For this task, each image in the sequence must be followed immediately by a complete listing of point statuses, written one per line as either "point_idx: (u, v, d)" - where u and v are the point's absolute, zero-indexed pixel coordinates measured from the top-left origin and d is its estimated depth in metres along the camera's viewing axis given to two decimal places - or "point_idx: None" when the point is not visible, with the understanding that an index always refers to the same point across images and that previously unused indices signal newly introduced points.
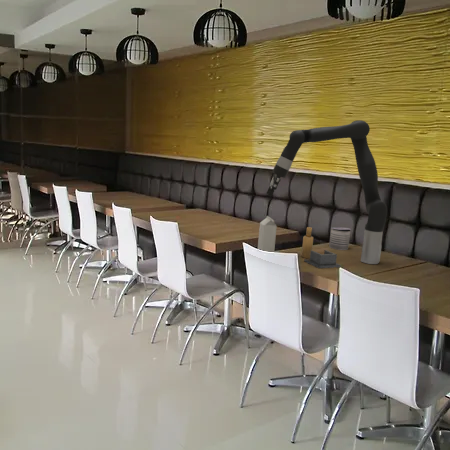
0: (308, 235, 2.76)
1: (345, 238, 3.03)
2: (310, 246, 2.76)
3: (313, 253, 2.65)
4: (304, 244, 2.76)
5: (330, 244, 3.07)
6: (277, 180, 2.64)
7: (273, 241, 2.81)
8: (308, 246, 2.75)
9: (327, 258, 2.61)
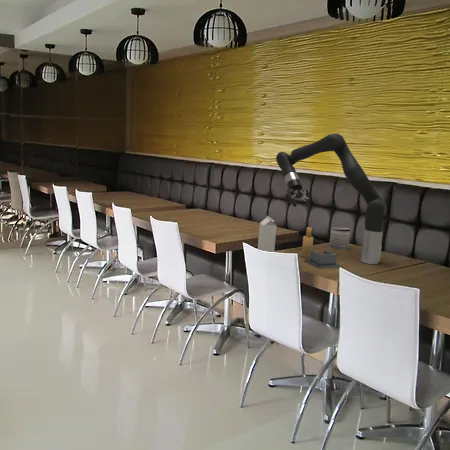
0: (308, 235, 2.76)
1: (345, 238, 3.03)
2: (310, 246, 2.76)
3: (313, 253, 2.65)
4: (304, 244, 2.76)
5: (330, 244, 3.07)
6: (286, 192, 2.86)
7: (273, 241, 2.81)
8: (308, 246, 2.75)
9: (327, 258, 2.61)
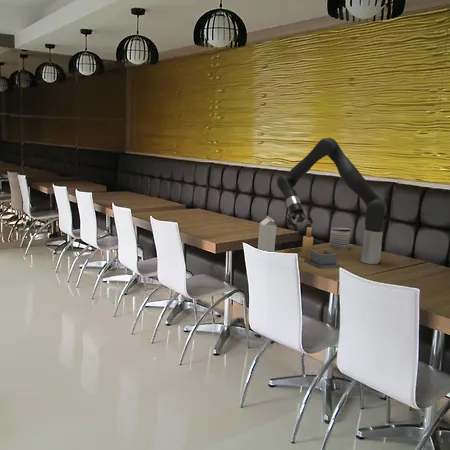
0: (308, 235, 2.76)
1: (345, 238, 3.03)
2: (310, 246, 2.76)
3: (313, 253, 2.65)
4: (304, 244, 2.76)
5: (330, 244, 3.07)
6: (287, 216, 2.83)
7: (273, 241, 2.81)
8: (308, 246, 2.75)
9: (327, 258, 2.61)
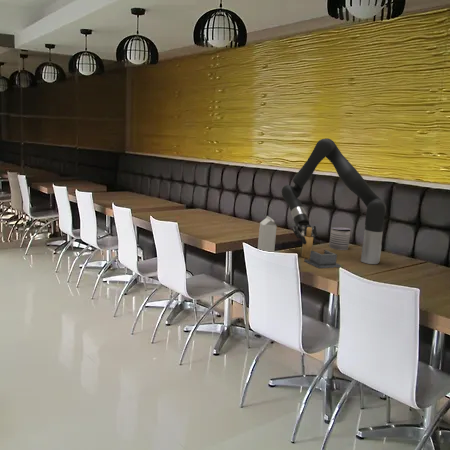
0: (308, 235, 2.76)
1: (345, 238, 3.03)
2: (310, 246, 2.76)
3: (313, 253, 2.65)
4: None
5: (330, 244, 3.07)
6: (294, 229, 2.78)
7: (273, 241, 2.81)
8: (308, 246, 2.75)
9: (327, 258, 2.61)
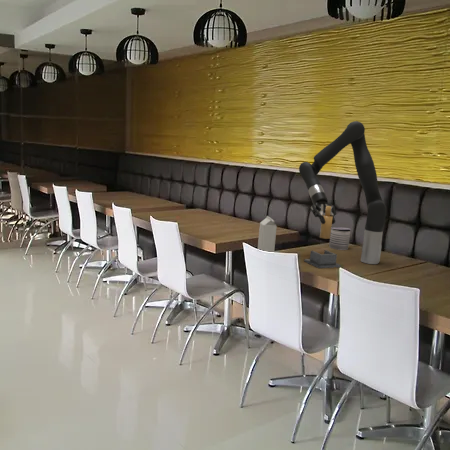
0: (327, 214, 2.61)
1: (345, 238, 3.03)
2: (329, 226, 2.61)
3: (313, 253, 2.65)
4: (323, 224, 2.61)
5: (330, 244, 3.07)
6: (312, 208, 2.62)
7: (273, 241, 2.81)
8: (327, 226, 2.60)
9: (327, 258, 2.61)
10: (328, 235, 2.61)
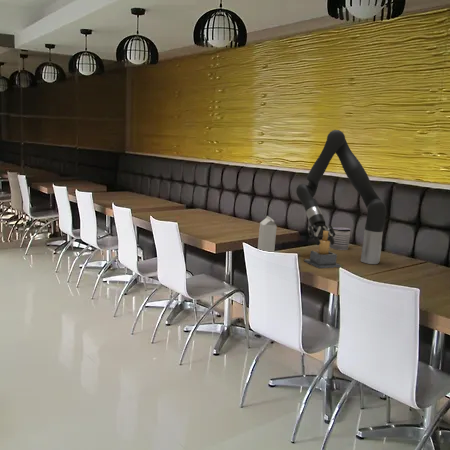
0: (324, 239, 2.63)
1: (345, 238, 3.03)
2: (326, 250, 2.63)
3: (313, 253, 2.65)
4: (320, 248, 2.63)
5: (330, 244, 3.07)
6: (308, 229, 2.65)
7: (273, 241, 2.81)
8: (325, 251, 2.62)
9: (327, 258, 2.61)
10: None
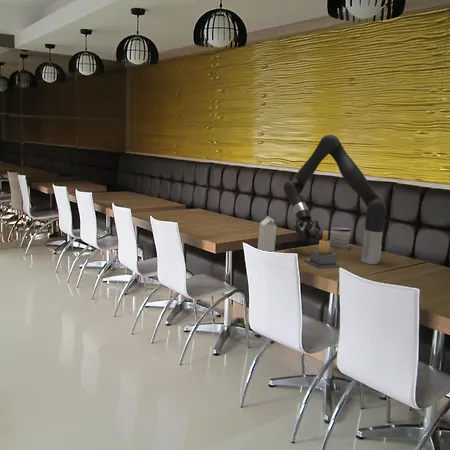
0: (324, 239, 2.63)
1: (345, 238, 3.03)
2: (326, 250, 2.63)
3: (313, 253, 2.65)
4: (320, 248, 2.63)
5: (330, 244, 3.07)
6: (295, 224, 2.76)
7: (273, 241, 2.81)
8: (325, 251, 2.62)
9: (327, 258, 2.61)
10: None
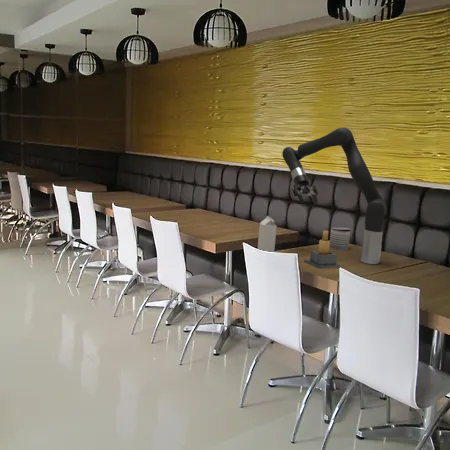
0: (324, 239, 2.63)
1: (345, 238, 3.03)
2: (326, 250, 2.63)
3: (313, 253, 2.65)
4: (320, 248, 2.63)
5: (330, 244, 3.07)
6: (293, 188, 2.81)
7: (273, 241, 2.81)
8: (325, 251, 2.62)
9: (327, 258, 2.61)
10: None
